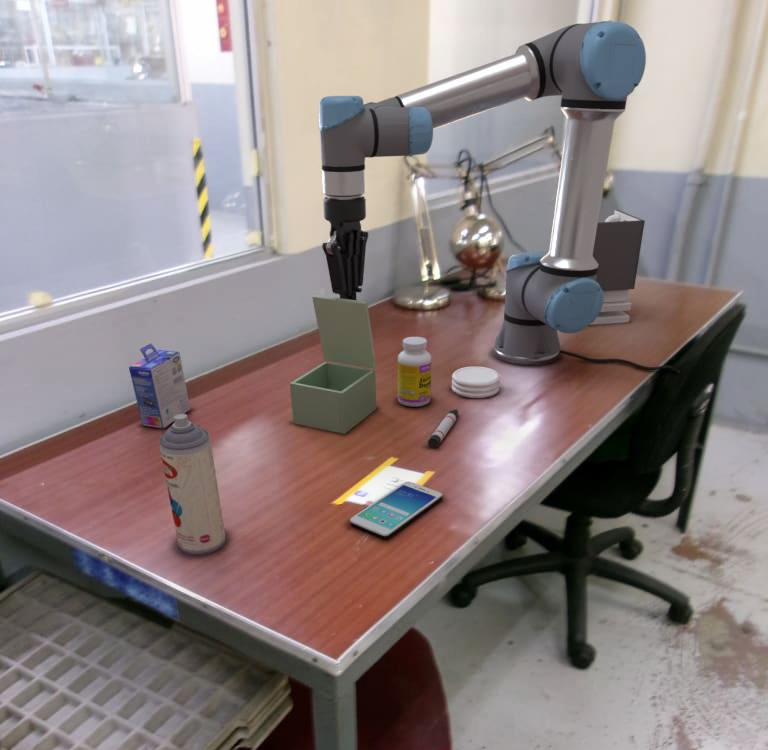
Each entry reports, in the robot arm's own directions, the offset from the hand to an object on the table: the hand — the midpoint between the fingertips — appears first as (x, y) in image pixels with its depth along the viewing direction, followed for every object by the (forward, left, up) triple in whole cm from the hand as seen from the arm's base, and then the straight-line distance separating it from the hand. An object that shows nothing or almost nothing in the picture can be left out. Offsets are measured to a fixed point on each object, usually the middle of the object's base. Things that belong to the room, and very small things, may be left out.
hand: (349, 327), depth 144 cm
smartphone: (-27, +34, -16) cm, 46 cm away
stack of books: (-28, -78, -16) cm, 84 cm away
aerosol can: (-5, +54, -16) cm, 57 cm away
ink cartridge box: (+30, +22, -16) cm, 40 cm away
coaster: (-20, -17, -16) cm, 31 cm away
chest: (0, +7, -16) cm, 17 cm away
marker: (-22, +4, -16) cm, 28 cm away
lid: (0, +2, 0) cm, 2 cm away
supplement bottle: (-11, -6, -16) cm, 20 cm away
